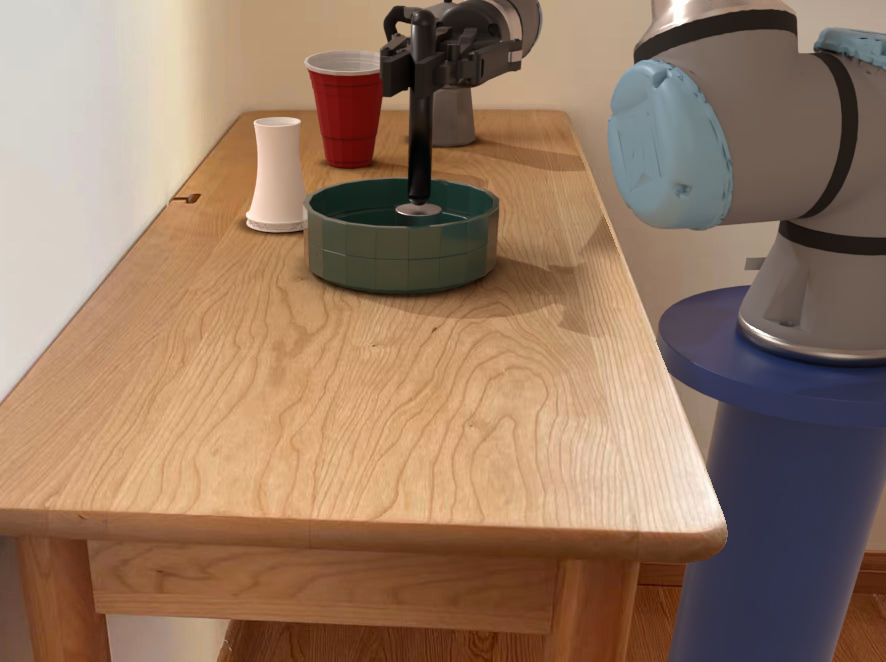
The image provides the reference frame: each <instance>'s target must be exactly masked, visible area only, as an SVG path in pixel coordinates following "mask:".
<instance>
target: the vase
mask: <svg viewBox="0 0 886 662" xmlns="http://www.w3.org/2000/svg"><path fill="white" fill-rule="evenodd" d="M301 124H302V120H301V119H299V118H296V117H288V116H271V117H270V116H269V117H263V118H258V119H256V120H254V121H253V127H254V132H255V138H256V148H257V150H256V151H257V171H256V181H255V187H254V193H253V197H252V201H251V204H250V205H251V206H250V208H249V210H248V211H247V212H246V213H245V217H246V219H247V220H246V222H245V223H246V226H247V227H249V228H250V229H252V230H256V231H259V232H266V233H267V232H268V233H291V232H298V231H303V202H304V200H305V198H306V196H307V195H308V193H307V189H306V184H305V181H304V176H303V171H302V164H301V153H300V152H301V151H300V141H301V139H300V137H301Z"/></svg>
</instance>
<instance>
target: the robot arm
mask: <svg viewBox="0 0 886 662" xmlns="http://www.w3.org/2000/svg"><path fill="white" fill-rule="evenodd" d="M650 8H651V9H650V10H651V22H650V25H649V26H648V28H647V29H646V31H645V32H644V33H643V34H642V36H640V38H639V40H638V41H637V42H636V43H635V45H634V48H633V50H632V51H633V52H632V55H633V66H630V67H628V69H626V71H624V73H623V74H622V75H621V77H620V78H619V79H618V82H617V83H616V85H615V87H614V90H613V92H612V96H611V100H610V105H609V107H610V110H611V112H612V114H611V115H610V116H609V117H608V119H607V130H606V131H607V133H606V135H607V136H606V137H607V150H608V157H609V163H610V169H611V172H612V176H613V180H614V183H615V185H616V188H617V190H618V193H619V194H620V197H621V199H622V200H623V202H624V204H625V205H626V207H627V208H628V209H629V210H631V211H632V214H634V216H635V217H636V218H637V219H638V220H639V221H641V222H642V223H643V224H645V225H647V226H648V227H652V228H655V229H658V230H691V231H695V232H697V231H698V232H704V231H707V230H709V229H713V228H715V227H721V226H734V225H735V226H736V225H745V224H746V225H747V224H758V223H770V222H779V223H778V228H777V233H776V237H775V240H774V242H773V244H772V246H771V248H770V249H769V252H768V254H767V255H766V256H765V257H764V256H762V257H746V259H745V265H744V269H743V271H757V273H756V276H755V277H754V279H753V281H752V282H751V284H750V285H751V286H750V288H749V290H748V292H747V294H746V296H745V297H744V299H743V302H742V304H741V307H740V309H739V314H738V319H737V324H736V331H737V333H738V335H739V336H740V338H741V339H742V340H744V341H745V342H746V343H747V344H749V345H750V346H752V347H754V348H756V349H758V350H760V351H762V352H764V353H767V354H770V355H772V356H775V357H778V358H782V359H785V360H789V361H793V362H798V363H803V364H808V365H814V366H821V367H830V368H845V369H867V368H880V367H886V32H879V31H873V30H872V31H871V30H864V29H856V28H849V27H848V28H847V27H837V26H834V27H829V26H828V27H825V28H824V29H822V30H821V31H820V32H819V34H818V37H817V39H816V41H815V42H814V43H813V47H812V50H813V52H808V53H807V52H799V36H798V35H799V34H798V33H799V32H798V16H797V12H796V11H795V9H793V7H791V6H790V5H788V4H787V3H786V2H784V1H783V0H650ZM543 19H544V17H543V10H542V6H541V4H540V1H539V0H463V1H461V2H459V3H458V2H457V3H456V5H454V6H452V7H450V8H449V9H447V10H446V11H445V12H444V13H443V14H442V15H441V16H440V18H439V19H438V20H437V22H436V47H435V54H433V55H431V56H429V57H427V58H425V59H423V60H421V61H419V62H417V63H415V97H414V99H424V98H426V97H427V96H429V95H431V94H432V93H434V92H436V91H437V90H439V89H441V88H442V87H444V85H447V84H449V85H450V86H456V87H459V88H471V89H473V88H477V87H480V86H481V85H484V84H485V83H486V82H489V81H490V80H492V79H495V78H497V77H500V76H502V75H505V74H507V73H510V72H518V71H521V70H522V61H523V59H524V58H526V57H527V56H528V55H529V54H530V52H531V51H532V49H533V48H534V47H535V45H536V44H537V42H538V40H539V38H540V35H541V33H542V29H543V22H544V20H543ZM410 47H411V35H404V34H402V33H400V32H398V33H395V35H392V40H391V41H390V42H387V43H385V44H384V45H383V46H382V47H380V48H379V53H380V79H382V80H383V98H392V97H394V96H396V95H398V94H400V93H401V92H406V91H409V89H410Z"/></svg>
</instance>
